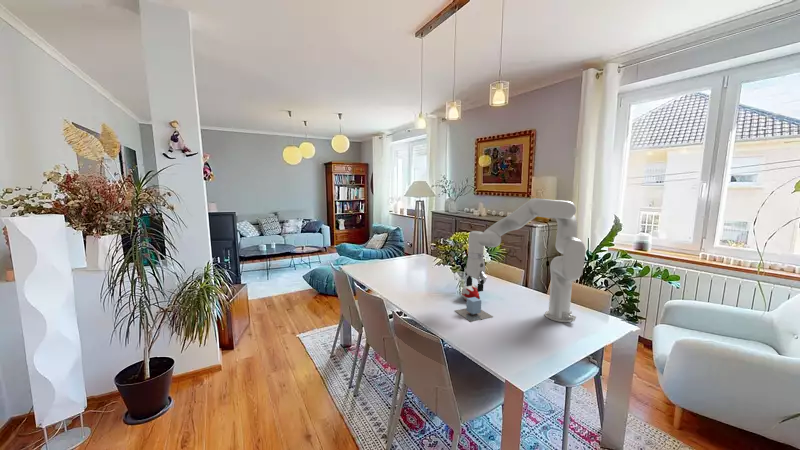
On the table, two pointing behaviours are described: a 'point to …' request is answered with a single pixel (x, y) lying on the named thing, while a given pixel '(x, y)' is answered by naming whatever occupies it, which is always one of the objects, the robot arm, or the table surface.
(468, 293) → the red white rounded piece
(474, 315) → the square pedestal stand
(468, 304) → the blue-grey rectangular block
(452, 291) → the table surface
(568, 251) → the robot arm
